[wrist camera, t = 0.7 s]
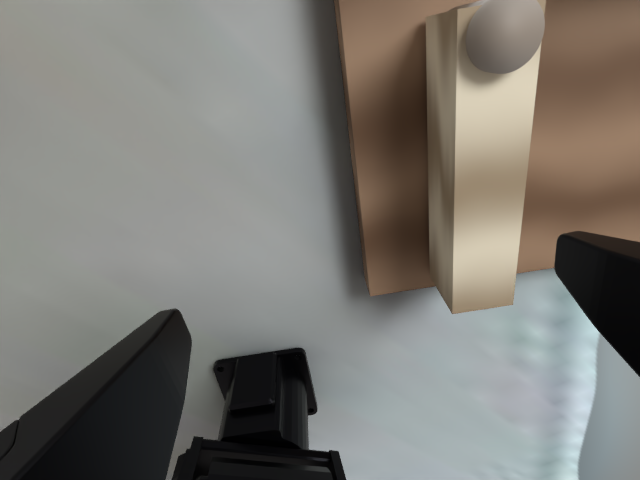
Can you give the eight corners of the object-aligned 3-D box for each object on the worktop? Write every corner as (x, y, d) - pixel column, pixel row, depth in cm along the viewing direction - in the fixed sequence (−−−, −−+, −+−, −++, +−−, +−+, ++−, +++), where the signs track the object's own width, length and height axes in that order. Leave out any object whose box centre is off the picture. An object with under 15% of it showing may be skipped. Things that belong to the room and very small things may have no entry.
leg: (424, 11, 16) (464, 0, 12) (496, -1, 16) (558, -16, 12) (429, 274, 22) (456, 321, 18) (480, 266, 22) (519, 312, 18)
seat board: (707, 224, 24) (813, 269, 19) (364, 278, 24) (382, 336, 19) (871, -232, 15) (1156, -371, 10) (319, -136, 15) (330, -224, 10)
